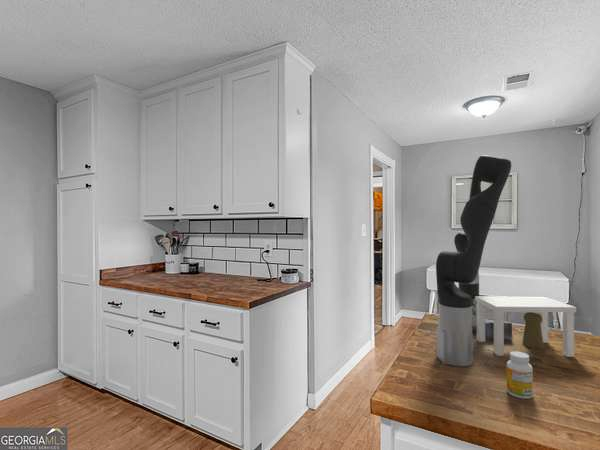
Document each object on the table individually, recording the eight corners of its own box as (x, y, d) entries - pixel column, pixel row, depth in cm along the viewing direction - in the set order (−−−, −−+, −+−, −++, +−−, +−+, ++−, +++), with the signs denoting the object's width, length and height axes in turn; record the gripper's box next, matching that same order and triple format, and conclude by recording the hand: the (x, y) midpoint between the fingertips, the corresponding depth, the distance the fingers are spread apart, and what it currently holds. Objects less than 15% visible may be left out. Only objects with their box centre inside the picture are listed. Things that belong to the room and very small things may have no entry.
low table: (496, 356, 104) (496, 306, 104) (475, 339, 119) (475, 296, 119) (576, 357, 103) (576, 307, 103) (545, 340, 117) (544, 296, 117)
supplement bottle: (508, 385, 86) (508, 348, 86) (533, 392, 82) (533, 353, 82) (505, 394, 82) (504, 355, 81) (531, 401, 78) (531, 360, 78)
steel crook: (486, 339, 119) (486, 322, 119) (462, 322, 139) (462, 308, 139) (511, 340, 118) (511, 323, 118) (484, 322, 138) (484, 308, 138)
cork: (547, 349, 110) (547, 315, 110) (527, 347, 111) (527, 315, 111) (538, 342, 116) (538, 311, 115) (519, 341, 117) (519, 310, 117)
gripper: (454, 282, 132) (455, 326, 133) (491, 282, 132) (491, 326, 132) (447, 279, 140) (447, 320, 140) (481, 279, 139) (482, 320, 139)
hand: (468, 323), depth 136 cm, fingers closed on steel crook, 2 cm apart
